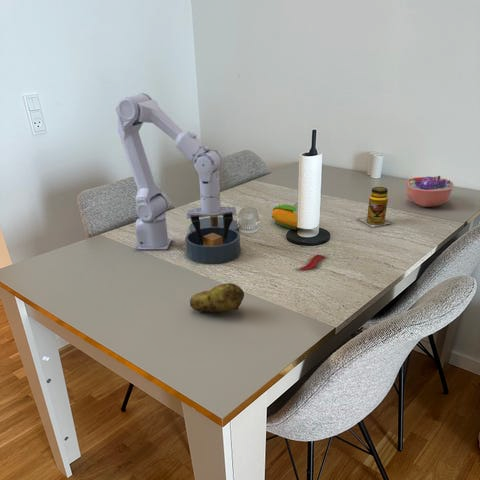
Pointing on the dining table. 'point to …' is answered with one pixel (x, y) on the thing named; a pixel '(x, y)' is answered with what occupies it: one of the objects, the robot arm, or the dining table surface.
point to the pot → (213, 253)
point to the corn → (285, 216)
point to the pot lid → (214, 223)
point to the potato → (218, 298)
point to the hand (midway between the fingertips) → (212, 238)
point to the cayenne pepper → (312, 262)
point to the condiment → (377, 207)
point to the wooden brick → (212, 240)
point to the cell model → (429, 190)
